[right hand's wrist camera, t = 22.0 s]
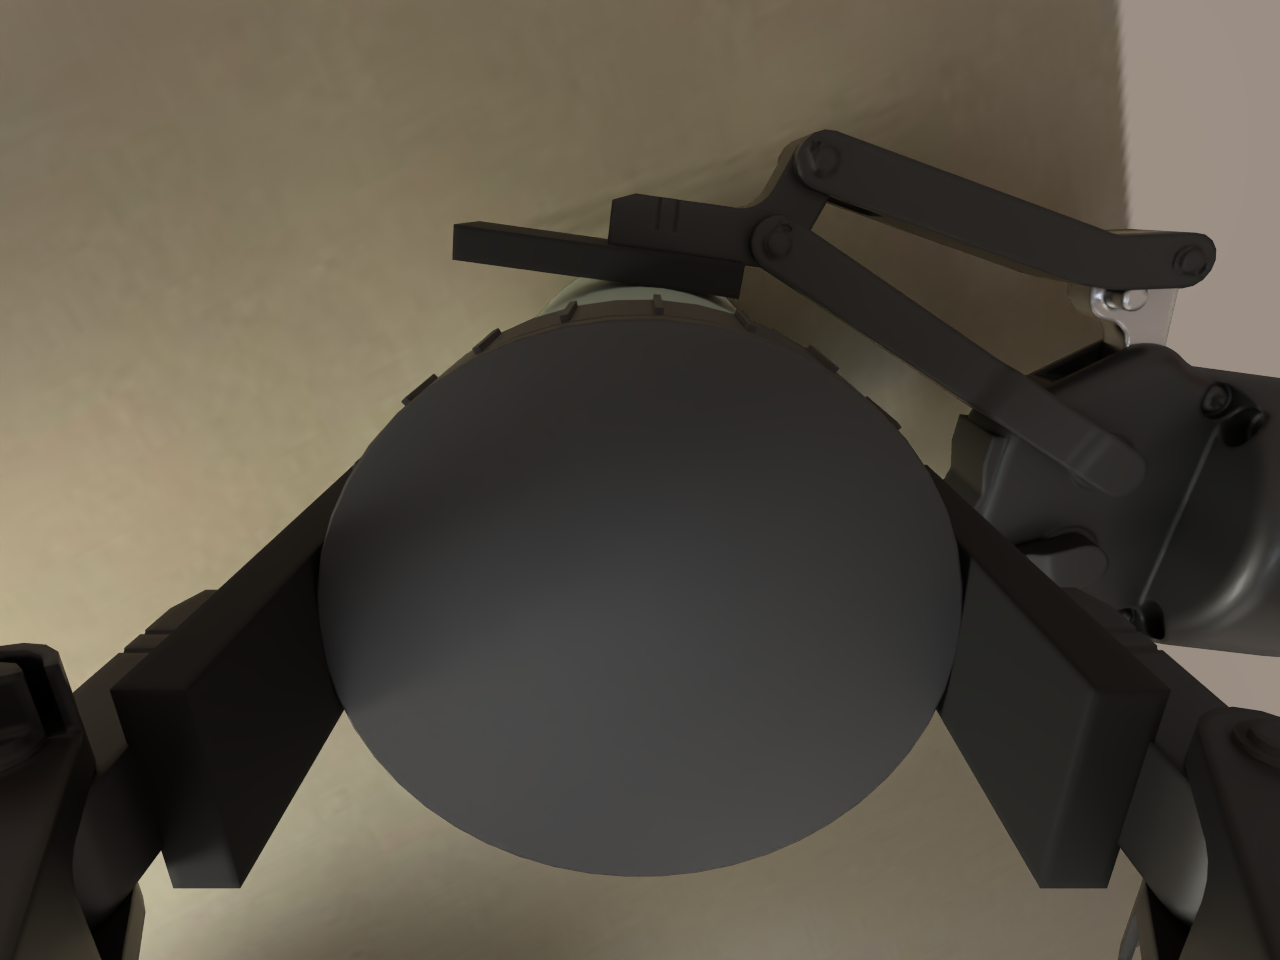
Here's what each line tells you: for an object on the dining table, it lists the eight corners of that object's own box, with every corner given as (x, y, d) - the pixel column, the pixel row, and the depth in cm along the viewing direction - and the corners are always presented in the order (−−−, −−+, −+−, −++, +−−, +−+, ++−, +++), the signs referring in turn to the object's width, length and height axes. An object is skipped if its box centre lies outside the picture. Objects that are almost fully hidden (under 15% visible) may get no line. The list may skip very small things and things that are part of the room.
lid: (296, 683, 13) (240, 764, 11) (481, 180, 10) (445, 175, 8) (749, 849, 14) (765, 944, 12) (1031, 454, 11) (1107, 503, 9)
